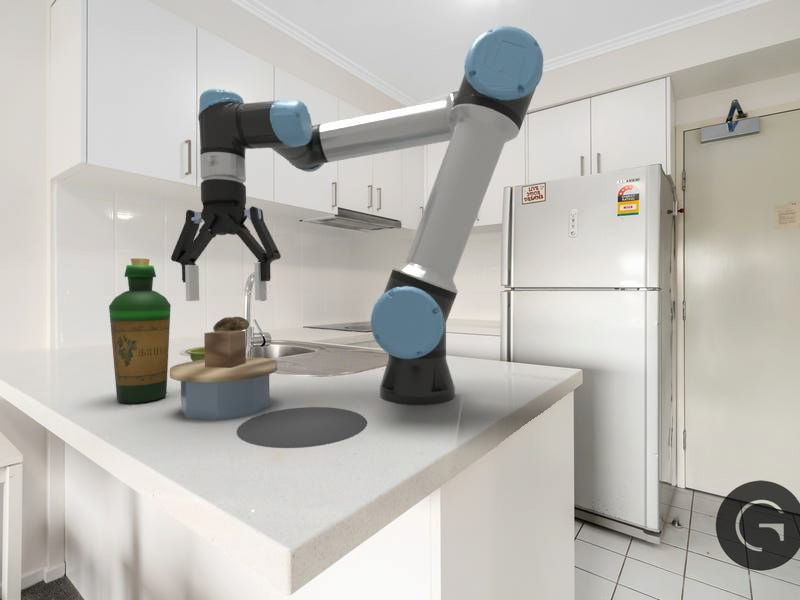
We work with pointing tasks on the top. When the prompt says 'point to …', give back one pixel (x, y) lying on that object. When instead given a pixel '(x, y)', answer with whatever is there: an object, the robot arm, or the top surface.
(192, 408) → the bowl
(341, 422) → the mat
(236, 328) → the mushroom
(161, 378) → the bottle
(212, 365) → the lid
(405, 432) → the top surface
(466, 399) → the top surface
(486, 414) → the top surface
